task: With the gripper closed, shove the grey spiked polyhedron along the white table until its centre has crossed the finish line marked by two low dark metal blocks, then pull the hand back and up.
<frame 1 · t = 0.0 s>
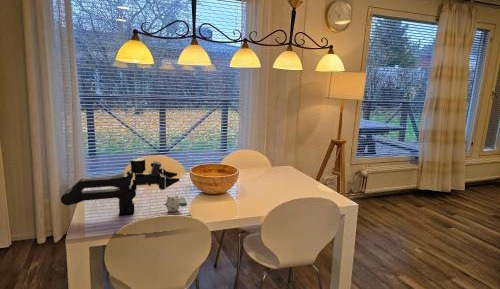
hand: (178, 176, 169), 17 cm above the table, tool horizontal, fingers open, 9 cm apart
grey spiked polyhedron: (173, 211, 167), on the table
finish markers: (184, 207, 173), on the table
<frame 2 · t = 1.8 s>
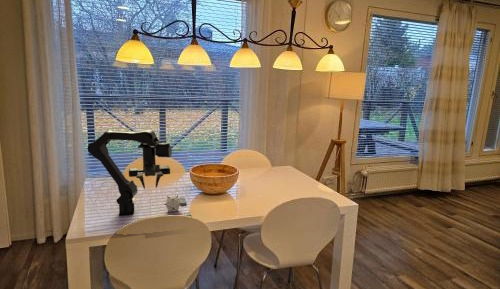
hand: (150, 188, 161), 13 cm above the table, tool pointing down, fingers open, 5 cm apart
nothing on the table moved.
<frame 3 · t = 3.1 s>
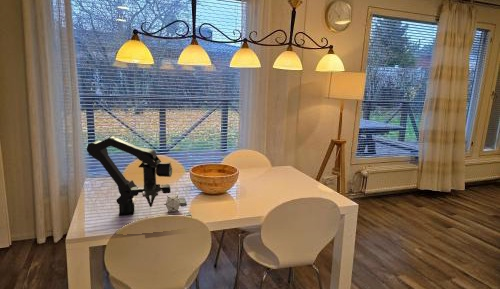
hand: (150, 206, 163), 4 cm above the table, tool pointing down, fingers closed
nothing on the table moved.
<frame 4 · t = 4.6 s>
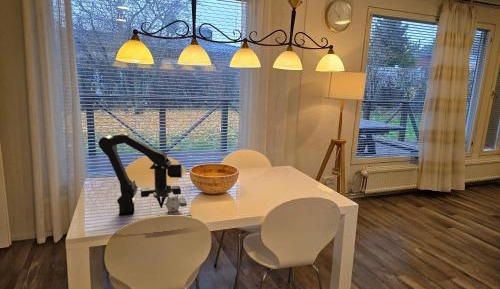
hand: (161, 207, 165), 3 cm above the table, tool pointing down, fingers closed
grey spiked polyhedron: (173, 211, 167), on the table, touching gripper
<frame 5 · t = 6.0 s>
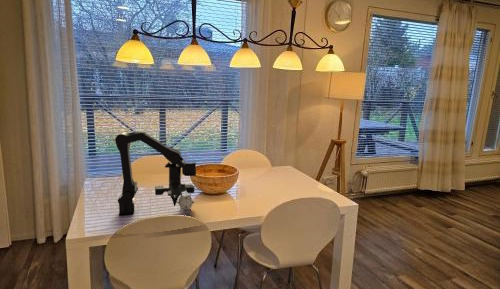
hand: (174, 205, 167), 3 cm above the table, tool pointing down, fingers closed
grey spiked polyhedron: (185, 210, 169), on the table, touching gripper
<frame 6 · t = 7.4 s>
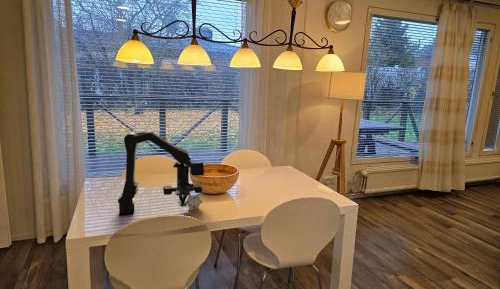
hand: (182, 205, 168), 3 cm above the table, tool pointing down, fingers closed
grey spiked polyhedron: (193, 209, 171), on the table, touching gripper
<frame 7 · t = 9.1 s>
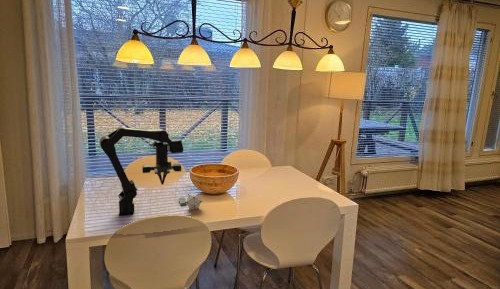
hand: (162, 184, 170), 12 cm above the table, tool pointing down, fingers closed
grey spiked polyhedron: (193, 209, 171), on the table
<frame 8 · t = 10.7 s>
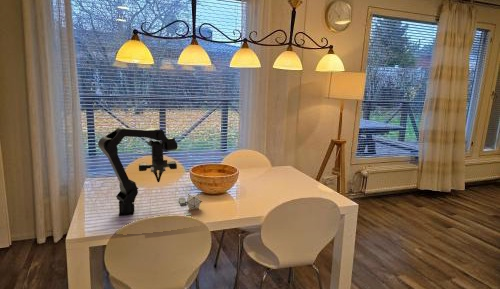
hand: (158, 182, 174), 12 cm above the table, tool pointing down, fingers closed
nothing on the table moved.
at the end: grey spiked polyhedron inside the target area (3.7 cm from its centre), on the table; grey spiked polyhedron moved 10.3 cm from its start; the gripper is holding nothing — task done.
